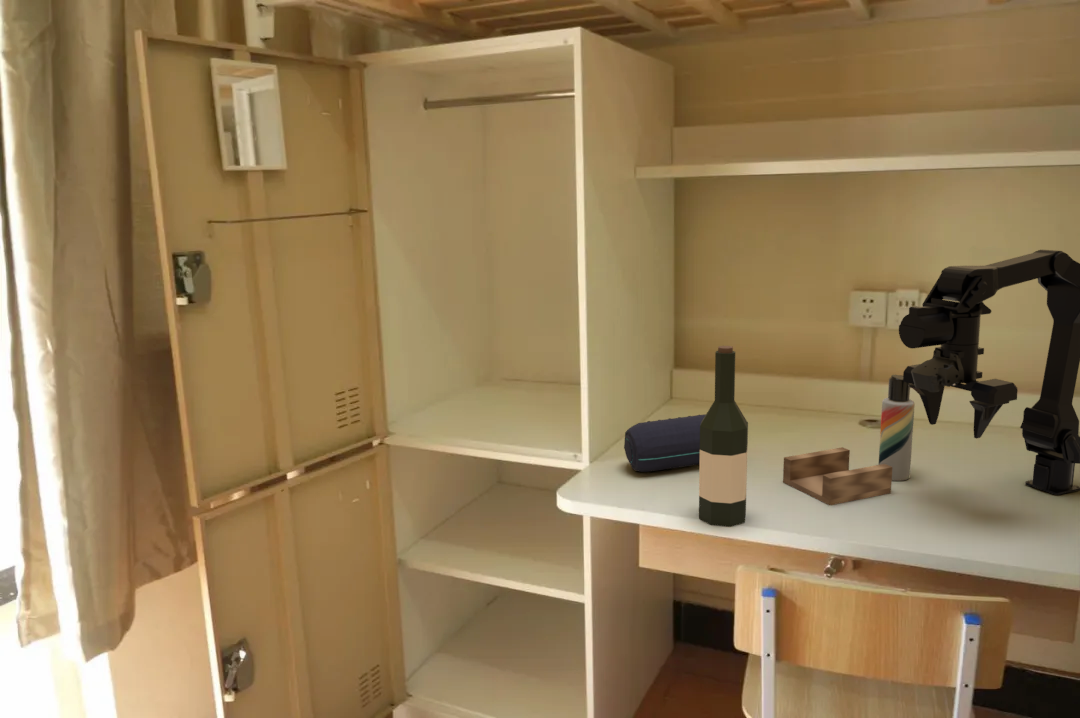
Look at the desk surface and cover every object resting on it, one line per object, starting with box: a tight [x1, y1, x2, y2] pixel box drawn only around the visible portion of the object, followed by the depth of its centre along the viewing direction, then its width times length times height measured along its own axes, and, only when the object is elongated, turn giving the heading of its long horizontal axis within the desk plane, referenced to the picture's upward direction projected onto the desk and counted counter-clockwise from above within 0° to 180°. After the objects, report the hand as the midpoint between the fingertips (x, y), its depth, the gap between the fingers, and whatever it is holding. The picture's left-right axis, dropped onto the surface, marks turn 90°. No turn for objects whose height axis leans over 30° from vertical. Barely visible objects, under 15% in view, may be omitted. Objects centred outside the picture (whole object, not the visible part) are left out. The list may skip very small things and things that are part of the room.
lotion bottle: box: [878, 374, 916, 482], centre depth 158 cm, size 6×6×20 cm
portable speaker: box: [623, 413, 707, 473], centre depth 169 cm, size 25×10×10 cm, turn 109°
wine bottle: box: [698, 345, 749, 528], centre depth 140 cm, size 8×8×30 cm
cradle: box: [782, 446, 893, 506], centre depth 155 cm, size 14×13×5 cm
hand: (954, 430), depth 142 cm, fingers open, 9 cm apart
